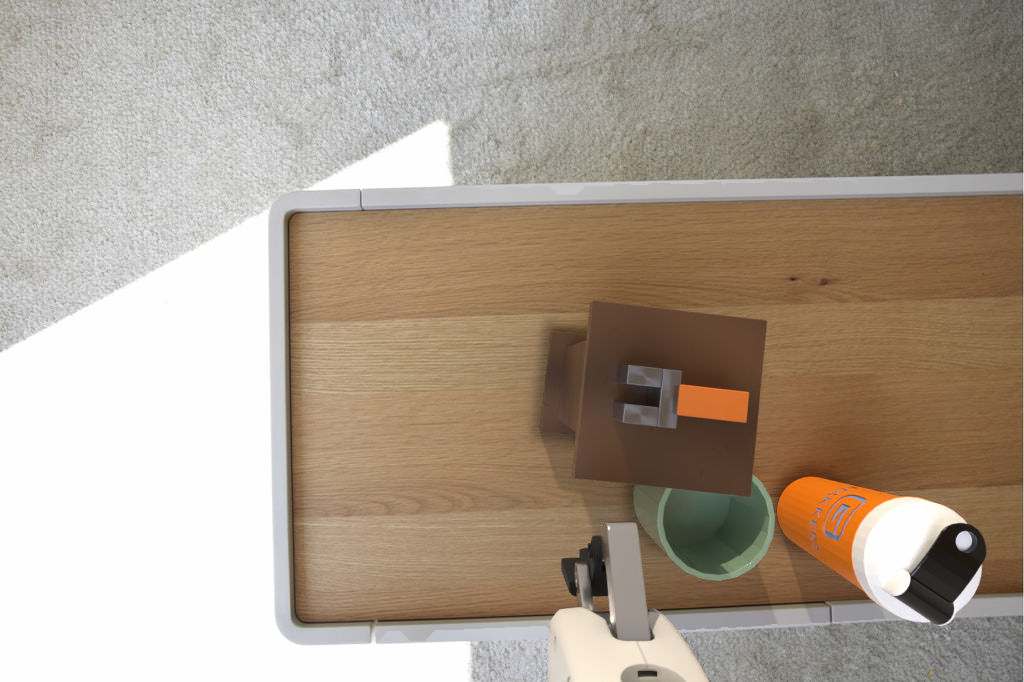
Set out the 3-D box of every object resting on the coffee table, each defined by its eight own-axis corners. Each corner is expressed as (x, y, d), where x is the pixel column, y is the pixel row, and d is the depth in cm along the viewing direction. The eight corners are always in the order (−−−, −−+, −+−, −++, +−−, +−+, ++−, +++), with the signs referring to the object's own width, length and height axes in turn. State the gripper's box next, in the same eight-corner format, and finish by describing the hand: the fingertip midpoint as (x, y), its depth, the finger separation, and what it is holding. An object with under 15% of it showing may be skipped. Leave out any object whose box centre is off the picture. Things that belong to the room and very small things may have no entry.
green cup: (727, 553, 65) (769, 586, 55) (628, 542, 65) (651, 573, 55) (736, 453, 66) (780, 467, 56) (638, 442, 66) (663, 454, 56)
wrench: (730, 378, 37) (751, 378, 34) (725, 431, 37) (745, 436, 34) (617, 365, 37) (628, 364, 34) (612, 418, 37) (622, 422, 34)
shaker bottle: (868, 489, 66) (1030, 540, 46) (833, 571, 65) (982, 659, 45) (788, 452, 66) (915, 487, 46) (752, 534, 65) (865, 605, 45)
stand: (638, 442, 66) (750, 497, 37) (539, 430, 65) (573, 477, 36) (648, 342, 66) (767, 320, 37) (550, 331, 66) (592, 299, 37)
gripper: (542, 600, 17) (517, 489, 34) (550, 1344, 16) (520, 840, 33) (834, 595, 17) (662, 487, 34) (860, 1328, 16) (669, 836, 33)
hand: (592, 660), depth 33 cm, fingers open, 9 cm apart
